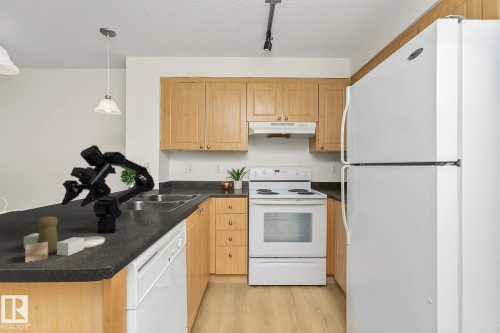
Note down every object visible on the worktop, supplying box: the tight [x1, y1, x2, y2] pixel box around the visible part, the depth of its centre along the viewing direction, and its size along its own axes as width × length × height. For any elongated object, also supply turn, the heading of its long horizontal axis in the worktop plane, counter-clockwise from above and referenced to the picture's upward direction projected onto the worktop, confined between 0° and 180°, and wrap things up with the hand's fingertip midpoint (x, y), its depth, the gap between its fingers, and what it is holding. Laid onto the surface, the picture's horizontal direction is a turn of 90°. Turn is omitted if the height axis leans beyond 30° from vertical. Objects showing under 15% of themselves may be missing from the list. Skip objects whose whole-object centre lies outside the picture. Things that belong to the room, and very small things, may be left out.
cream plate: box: [82, 235, 106, 249], centre depth 88 cm, size 11×11×1 cm
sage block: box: [23, 232, 39, 249], centre depth 85 cm, size 4×4×4 cm
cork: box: [37, 215, 59, 253], centre depth 81 cm, size 6×6×11 cm
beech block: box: [24, 242, 49, 263], centre depth 74 cm, size 5×5×4 cm
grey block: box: [56, 236, 85, 256], centre depth 79 cm, size 6×4×4 cm, turn 172°
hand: (71, 205), depth 89 cm, fingers open, 9 cm apart
